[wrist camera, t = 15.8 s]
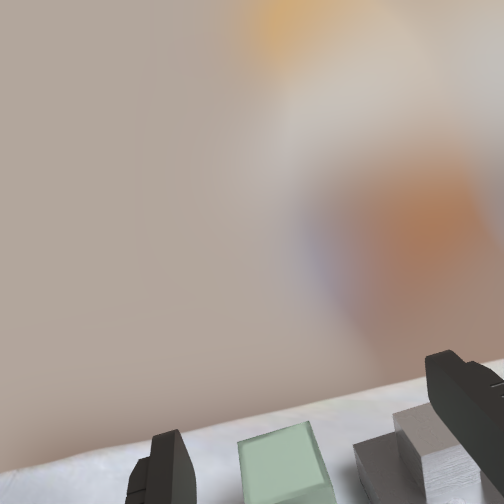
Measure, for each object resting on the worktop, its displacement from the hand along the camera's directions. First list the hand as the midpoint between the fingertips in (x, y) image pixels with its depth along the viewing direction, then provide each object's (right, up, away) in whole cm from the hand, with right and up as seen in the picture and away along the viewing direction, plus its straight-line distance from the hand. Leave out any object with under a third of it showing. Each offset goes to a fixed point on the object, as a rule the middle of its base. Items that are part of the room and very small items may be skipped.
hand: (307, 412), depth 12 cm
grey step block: (+13, -14, +18) cm, 27 cm away
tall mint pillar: (+2, -17, +18) cm, 25 cm away
